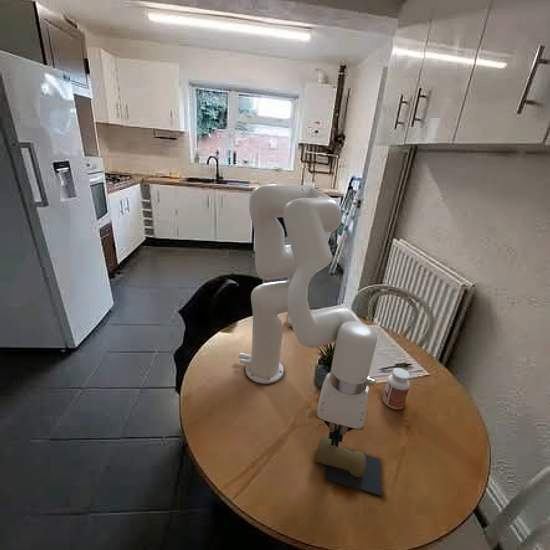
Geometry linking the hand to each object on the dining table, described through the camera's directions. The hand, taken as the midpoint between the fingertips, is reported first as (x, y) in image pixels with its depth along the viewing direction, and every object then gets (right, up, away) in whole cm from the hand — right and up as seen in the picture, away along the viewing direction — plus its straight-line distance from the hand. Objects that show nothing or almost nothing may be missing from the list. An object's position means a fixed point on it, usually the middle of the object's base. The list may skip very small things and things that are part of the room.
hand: (334, 441), depth 72 cm
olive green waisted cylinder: (-4, -3, +3) cm, 5 cm away
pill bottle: (+22, 0, +23) cm, 32 cm away
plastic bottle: (-6, +17, +59) cm, 62 cm away
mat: (+5, -8, +1) cm, 9 cm away
